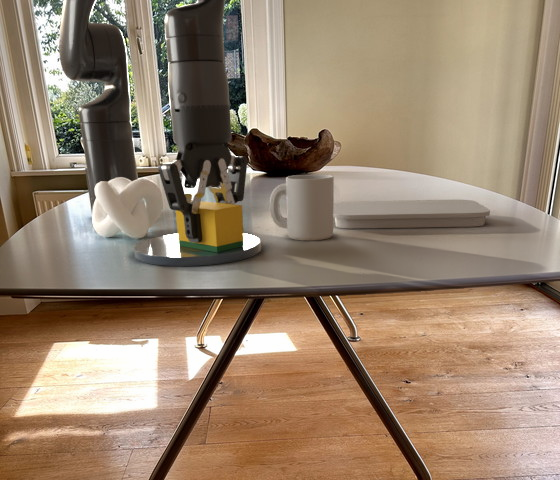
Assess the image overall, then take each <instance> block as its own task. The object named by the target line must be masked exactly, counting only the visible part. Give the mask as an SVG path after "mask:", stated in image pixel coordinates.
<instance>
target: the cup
mask: <svg viewBox="0 0 560 480" xmlns="http://www.w3.org/2000/svg"><path fill="white" fill-rule="evenodd" d="M334 183H335V181H334V175H331V174H296V175H288V176H286V177H285V183H281V184H279V185H277V186H275V188H274V189H273V190H272V192H271V194H270V197H269V213H270V217H271V219H272V221H273V223H274V224H275V225H276V226H277V227H278V228H282V229H286V231H287V236H288V237H289V239H292V240H296V241H321V240H327V239H330V238H332V236H333V235H334V218H333V203H334V194H335V191H334V188H335V187H334ZM284 195H286V217H283V215H282V213H281V206H280V205H281V199H282V196H284Z"/></svg>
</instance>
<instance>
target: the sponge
mask: <svg viewBox="0 0 560 480" xmlns="http://www.w3.org/2000/svg"><path fill="white" fill-rule="evenodd" d="M174 211H175V219H176V221H175V222H176V230H177V231H176V232H177V234H178V240H179V246H183V247H189V248H194V249H200V250H206V251H211V252H217V253H218V252H222V251H226V250H230V249H234V248H239V247H243V246H244V241H243V240H244V235H243V234H244V219H243V217H244V216H243V205H242V204H235V205H234V204H225V203H216V201H215V202H214V201H213V202H212V201H204V200H203V201H202V200H201V202H200V208H199V212H198V213H197V214H200V218H201V230H202V241H201V242H198V243H195V242H190V241H189V240H188V238H187V237H186V235H185V225H184V215H183V213H182V212H180V211H177V210H174Z"/></svg>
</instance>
